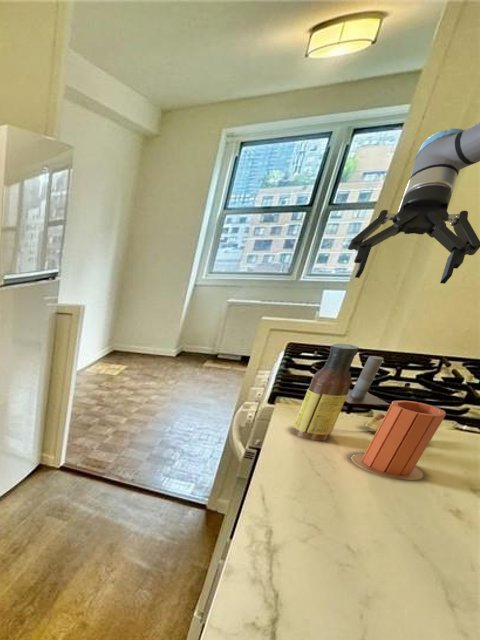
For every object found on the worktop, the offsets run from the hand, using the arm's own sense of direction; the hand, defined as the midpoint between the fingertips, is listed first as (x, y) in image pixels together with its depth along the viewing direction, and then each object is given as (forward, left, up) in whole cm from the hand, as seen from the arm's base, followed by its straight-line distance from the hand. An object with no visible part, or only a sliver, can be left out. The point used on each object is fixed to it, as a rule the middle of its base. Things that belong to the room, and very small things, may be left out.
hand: (400, 276), depth 104 cm
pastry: (+1, +17, -30) cm, 35 cm away
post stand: (-4, -1, -30) cm, 30 cm away
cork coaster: (+12, +33, -30) cm, 46 cm away
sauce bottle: (+18, +20, -30) cm, 40 cm away
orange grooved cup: (+12, +32, -29) cm, 45 cm away
